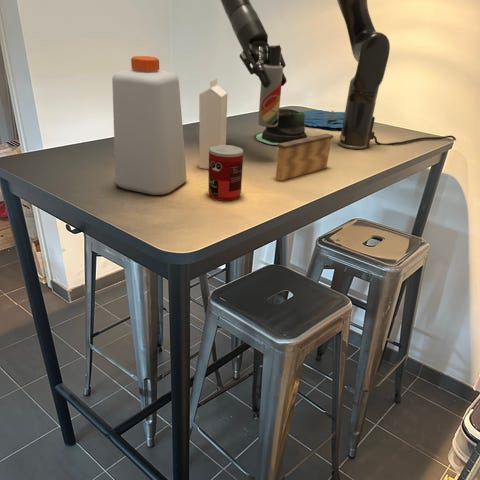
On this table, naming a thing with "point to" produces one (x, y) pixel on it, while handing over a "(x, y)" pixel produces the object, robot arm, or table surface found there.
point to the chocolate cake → (285, 128)
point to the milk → (211, 121)
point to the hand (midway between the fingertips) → (275, 84)
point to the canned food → (225, 172)
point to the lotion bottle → (271, 89)
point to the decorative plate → (324, 118)
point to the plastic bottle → (148, 128)
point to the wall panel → (302, 156)
